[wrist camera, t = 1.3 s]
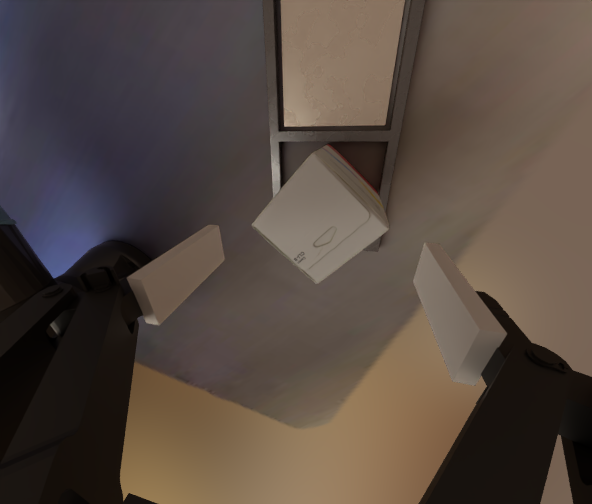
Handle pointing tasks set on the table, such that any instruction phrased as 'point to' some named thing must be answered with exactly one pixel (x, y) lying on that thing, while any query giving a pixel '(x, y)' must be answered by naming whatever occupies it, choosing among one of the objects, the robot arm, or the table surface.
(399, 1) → the grey flat rectangular frame
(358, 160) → the table surface
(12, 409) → the robot arm
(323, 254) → the ink box
